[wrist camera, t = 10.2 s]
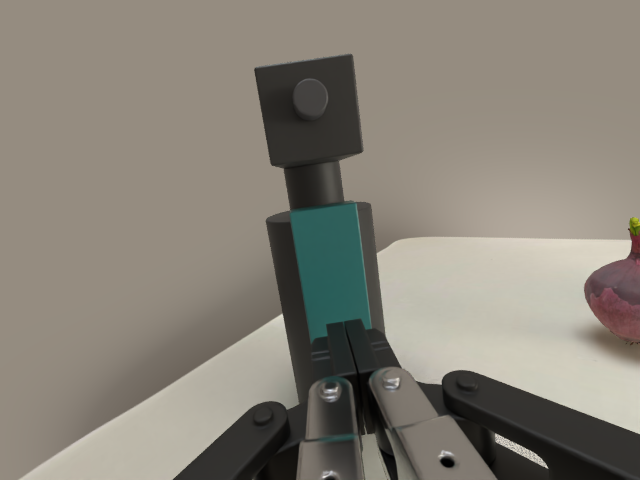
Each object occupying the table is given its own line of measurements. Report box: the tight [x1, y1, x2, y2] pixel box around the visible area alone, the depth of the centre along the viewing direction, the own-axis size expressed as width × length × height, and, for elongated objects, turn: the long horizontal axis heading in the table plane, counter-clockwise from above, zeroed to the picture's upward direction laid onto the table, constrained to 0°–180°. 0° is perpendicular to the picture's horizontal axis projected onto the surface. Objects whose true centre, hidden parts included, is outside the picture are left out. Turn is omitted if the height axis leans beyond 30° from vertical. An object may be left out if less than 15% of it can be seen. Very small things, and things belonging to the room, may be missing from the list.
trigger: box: [289, 201, 372, 344], centre depth 15 cm, size 1×3×7 cm, turn 93°
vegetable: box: [584, 217, 640, 345], centre depth 23 cm, size 6×6×10 cm
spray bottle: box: [254, 54, 386, 425], centre depth 19 cm, size 13×7×20 cm, turn 3°
